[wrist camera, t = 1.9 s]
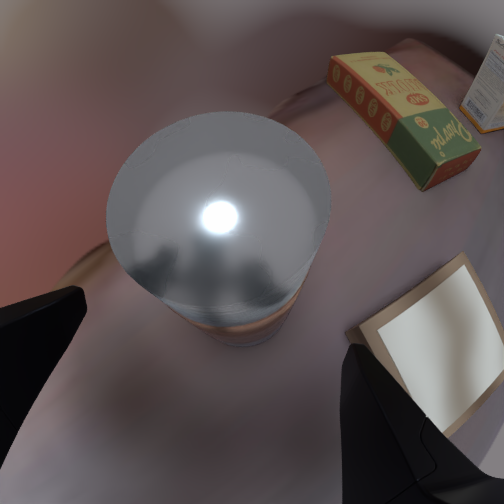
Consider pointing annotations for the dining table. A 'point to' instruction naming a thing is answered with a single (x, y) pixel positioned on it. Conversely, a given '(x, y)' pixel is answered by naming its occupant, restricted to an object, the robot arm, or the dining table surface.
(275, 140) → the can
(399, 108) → the carton
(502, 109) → the supplement box
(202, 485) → the dining table surface
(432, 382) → the board
